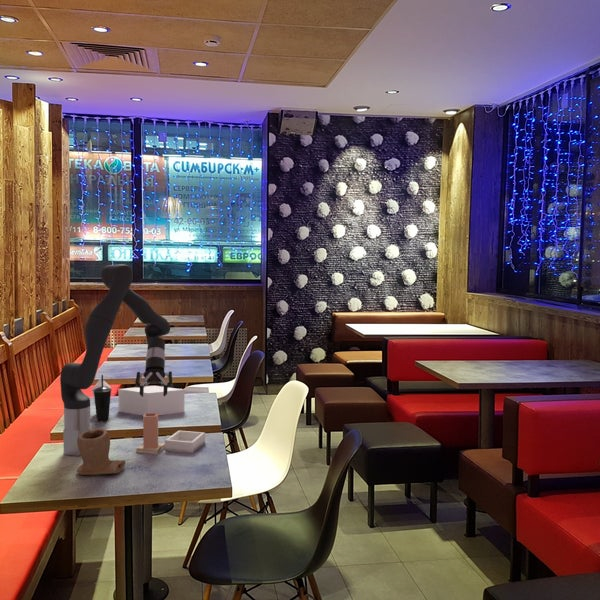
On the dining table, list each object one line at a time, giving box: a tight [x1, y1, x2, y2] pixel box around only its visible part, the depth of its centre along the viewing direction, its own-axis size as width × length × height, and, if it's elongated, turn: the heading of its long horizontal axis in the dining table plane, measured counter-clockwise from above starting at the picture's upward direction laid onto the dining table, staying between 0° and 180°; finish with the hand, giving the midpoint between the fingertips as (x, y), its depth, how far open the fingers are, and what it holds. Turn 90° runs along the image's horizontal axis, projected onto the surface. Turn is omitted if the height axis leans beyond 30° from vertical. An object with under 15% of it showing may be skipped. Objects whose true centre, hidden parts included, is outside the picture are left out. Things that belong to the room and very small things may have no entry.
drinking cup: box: [92, 374, 112, 423], centre depth 283 cm, size 8×8×20 cm
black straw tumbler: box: [91, 378, 112, 404], centre depth 294 cm, size 8×8×16 cm
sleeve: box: [142, 413, 159, 448], centre depth 245 cm, size 5×5×12 cm
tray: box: [164, 430, 206, 454], centre depth 250 cm, size 13×11×4 cm
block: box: [117, 385, 185, 416], centre depth 299 cm, size 15×30×11 cm, turn 92°
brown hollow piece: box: [76, 428, 127, 476], centre depth 220 cm, size 15×12×15 cm
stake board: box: [135, 442, 165, 455], centre depth 246 cm, size 8×8×2 cm
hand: (153, 395), depth 256 cm, fingers open, 8 cm apart
